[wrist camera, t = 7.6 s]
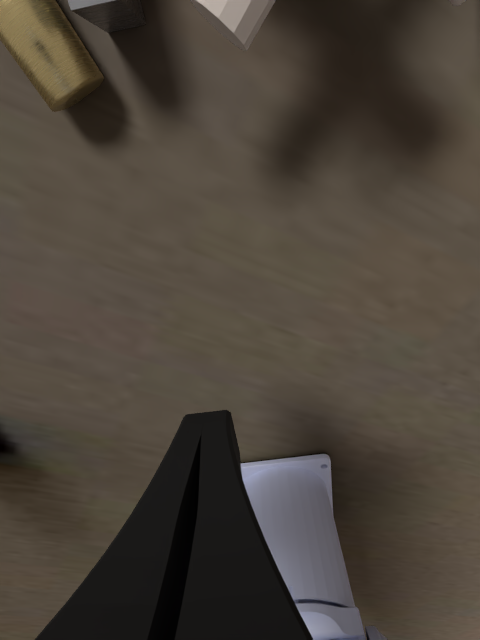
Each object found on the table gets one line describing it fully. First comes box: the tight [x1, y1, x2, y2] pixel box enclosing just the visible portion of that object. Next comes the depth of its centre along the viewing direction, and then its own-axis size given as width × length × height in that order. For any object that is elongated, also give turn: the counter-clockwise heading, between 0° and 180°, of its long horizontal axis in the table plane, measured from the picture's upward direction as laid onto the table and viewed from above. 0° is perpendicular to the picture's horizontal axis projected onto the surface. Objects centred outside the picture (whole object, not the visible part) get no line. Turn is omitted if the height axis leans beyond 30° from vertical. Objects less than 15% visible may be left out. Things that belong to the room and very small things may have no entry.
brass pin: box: [0, 0, 104, 112], centre depth 12 cm, size 6×2×2 cm, turn 29°
